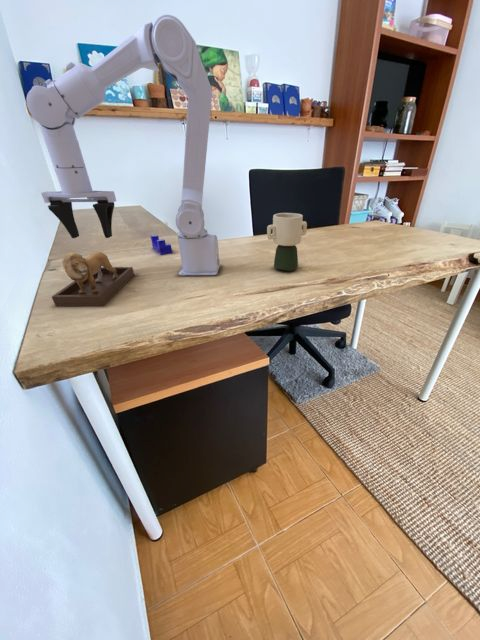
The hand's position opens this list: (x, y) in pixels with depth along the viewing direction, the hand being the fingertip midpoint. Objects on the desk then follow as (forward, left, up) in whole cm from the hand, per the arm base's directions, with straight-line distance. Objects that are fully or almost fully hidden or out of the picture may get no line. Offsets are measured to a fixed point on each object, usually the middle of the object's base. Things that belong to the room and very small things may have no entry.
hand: (92, 237), depth 67 cm
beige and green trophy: (-45, -5, -10) cm, 47 cm away
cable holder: (-8, -22, -10) cm, 26 cm away
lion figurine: (-3, +8, -9) cm, 13 cm away
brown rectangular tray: (-2, +8, -9) cm, 13 cm away
